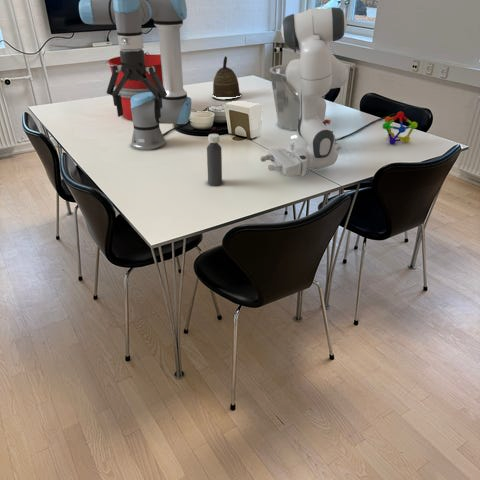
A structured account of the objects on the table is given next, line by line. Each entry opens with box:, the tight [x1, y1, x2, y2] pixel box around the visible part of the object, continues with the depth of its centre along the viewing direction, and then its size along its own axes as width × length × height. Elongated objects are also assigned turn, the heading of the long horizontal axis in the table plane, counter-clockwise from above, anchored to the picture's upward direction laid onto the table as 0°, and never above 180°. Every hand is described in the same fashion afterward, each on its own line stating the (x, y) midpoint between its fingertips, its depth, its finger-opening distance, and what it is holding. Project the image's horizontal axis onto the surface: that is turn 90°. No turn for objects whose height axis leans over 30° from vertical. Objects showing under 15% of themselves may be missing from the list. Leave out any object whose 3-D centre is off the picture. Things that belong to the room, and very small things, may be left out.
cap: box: [207, 133, 221, 144], centre depth 162 cm, size 4×4×2 cm
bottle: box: [206, 142, 223, 187], centre depth 166 cm, size 5×5×19 cm
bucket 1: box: [104, 51, 163, 121], centre depth 240 cm, size 35×35×30 cm
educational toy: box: [382, 110, 418, 145], centre depth 207 cm, size 16×13×15 cm
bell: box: [212, 56, 242, 97], centre depth 278 cm, size 19×26×20 cm
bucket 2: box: [269, 64, 326, 131], centre depth 226 cm, size 30×30×28 cm
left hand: (139, 116), depth 150 cm, fingers open, 13 cm apart
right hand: (264, 163), depth 173 cm, fingers open, 8 cm apart
